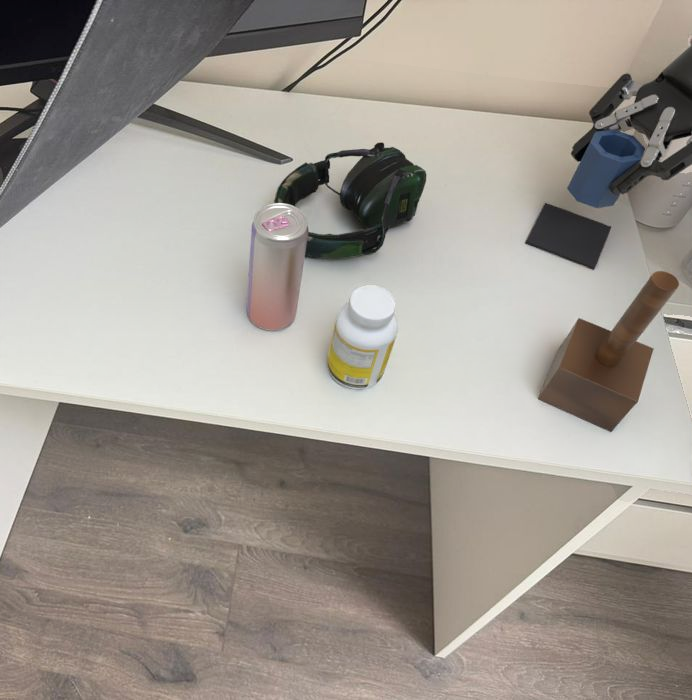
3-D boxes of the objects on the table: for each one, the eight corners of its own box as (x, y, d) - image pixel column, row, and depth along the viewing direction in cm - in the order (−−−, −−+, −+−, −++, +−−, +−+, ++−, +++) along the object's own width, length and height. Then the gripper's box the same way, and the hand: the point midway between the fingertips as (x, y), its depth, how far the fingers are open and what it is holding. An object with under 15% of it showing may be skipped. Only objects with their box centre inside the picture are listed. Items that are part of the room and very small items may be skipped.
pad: (610, 228, 95) (611, 226, 95) (593, 269, 91) (595, 267, 90) (544, 204, 98) (545, 202, 98) (524, 243, 93) (526, 241, 93)
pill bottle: (375, 343, 83) (396, 275, 74) (389, 389, 79) (413, 323, 70) (320, 348, 82) (335, 280, 73) (332, 394, 78) (349, 328, 69)
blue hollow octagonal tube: (621, 187, 89) (648, 140, 84) (610, 213, 86) (638, 167, 81) (575, 171, 91) (598, 124, 85) (562, 196, 88) (586, 149, 82)
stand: (627, 380, 80) (718, 270, 66) (611, 432, 76) (704, 326, 62) (557, 350, 83) (630, 238, 68) (537, 399, 79) (611, 290, 64)
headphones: (362, 127, 98) (245, 195, 94) (417, 106, 86) (285, 184, 82) (402, 213, 102) (290, 283, 97) (460, 204, 89) (335, 284, 85)
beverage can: (238, 304, 86) (242, 210, 74) (281, 289, 88) (292, 195, 76) (260, 339, 83) (268, 247, 71) (304, 323, 84) (320, 231, 73)
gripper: (668, 13, 80) (544, 127, 87) (772, 80, 72) (628, 200, 79) (678, 48, 86) (562, 152, 92) (776, 114, 78) (641, 223, 84)
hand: (593, 174), depth 85 cm, fingers closed on blue hollow octagonal tube, 6 cm apart
